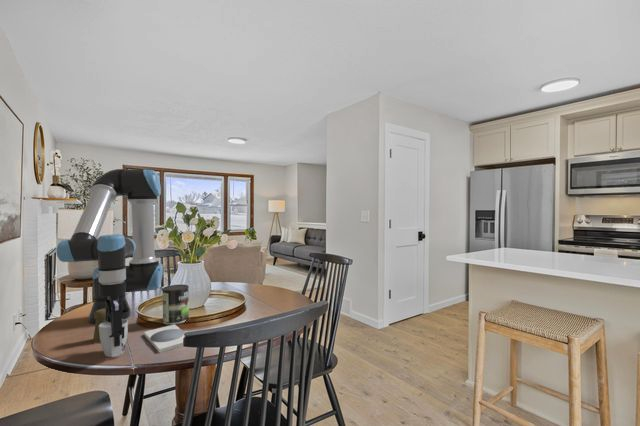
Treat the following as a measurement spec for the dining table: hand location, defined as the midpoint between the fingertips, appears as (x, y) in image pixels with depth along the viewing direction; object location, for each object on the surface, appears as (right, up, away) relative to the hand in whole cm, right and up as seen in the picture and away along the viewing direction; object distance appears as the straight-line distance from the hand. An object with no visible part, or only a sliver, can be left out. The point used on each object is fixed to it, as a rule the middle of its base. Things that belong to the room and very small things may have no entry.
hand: (114, 351), depth 105 cm
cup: (0, -1, 0) cm, 1 cm away
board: (+12, 0, +11) cm, 17 cm away
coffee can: (+7, 0, +30) cm, 31 cm away
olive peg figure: (-11, -1, +11) cm, 16 cm away
